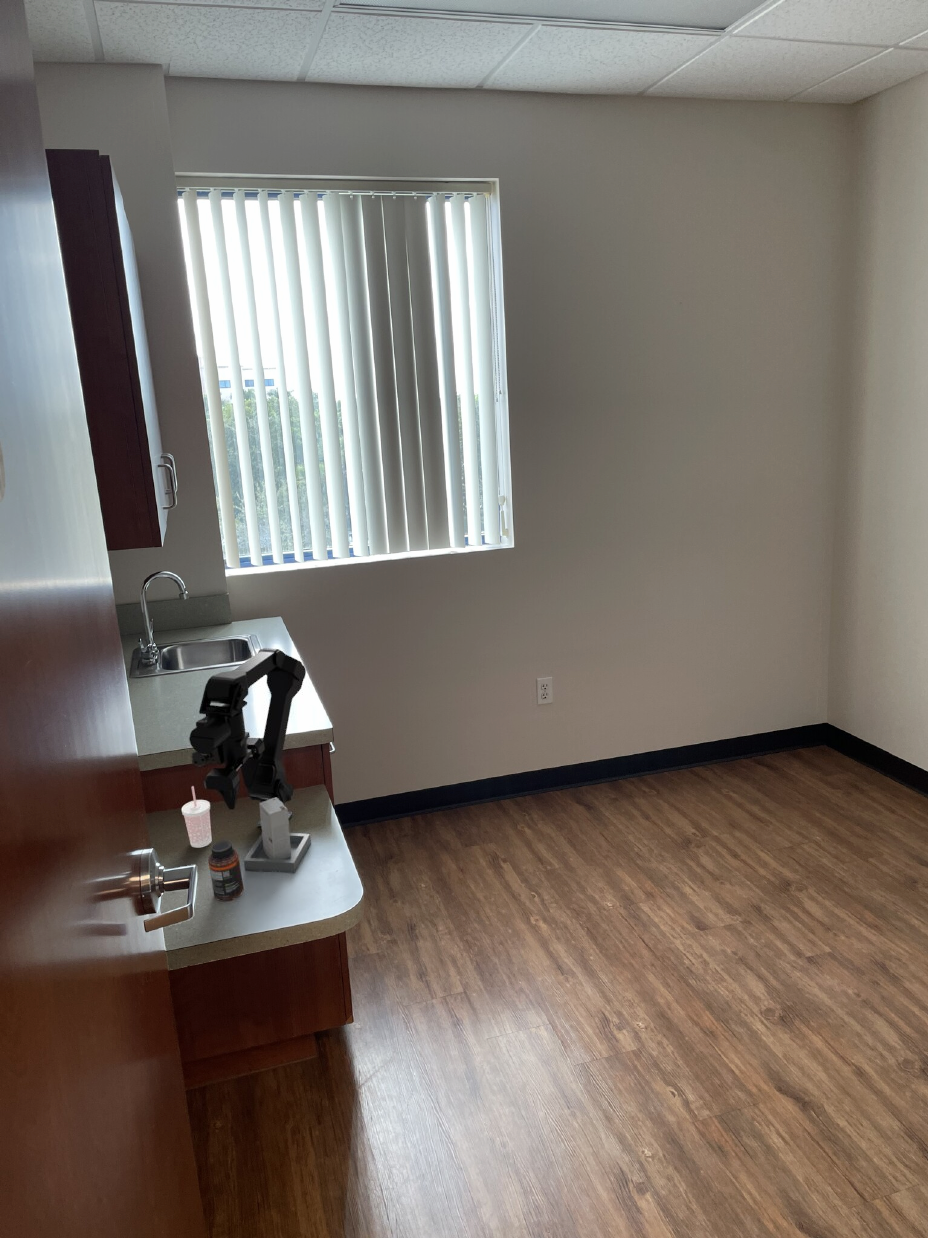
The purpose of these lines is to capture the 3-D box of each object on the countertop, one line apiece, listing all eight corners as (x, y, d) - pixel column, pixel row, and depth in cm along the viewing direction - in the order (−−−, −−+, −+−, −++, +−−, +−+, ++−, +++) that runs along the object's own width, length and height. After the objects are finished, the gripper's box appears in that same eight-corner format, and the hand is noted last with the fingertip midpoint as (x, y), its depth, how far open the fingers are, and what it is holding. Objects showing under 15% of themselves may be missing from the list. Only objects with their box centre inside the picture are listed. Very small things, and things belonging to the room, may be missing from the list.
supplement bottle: (232, 880, 177) (225, 833, 174) (249, 891, 174) (243, 843, 170) (207, 895, 173) (200, 847, 169) (225, 906, 169) (218, 857, 166)
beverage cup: (210, 831, 196) (202, 777, 191) (218, 843, 191) (210, 788, 186) (183, 840, 192) (174, 785, 188) (191, 852, 187) (182, 796, 183)
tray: (263, 841, 191) (262, 831, 190) (311, 843, 189) (310, 834, 188) (245, 870, 180) (243, 860, 180) (295, 873, 179) (293, 863, 178)
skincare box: (263, 851, 186) (256, 802, 182) (282, 844, 188) (276, 796, 184) (274, 864, 181) (267, 814, 177) (293, 857, 183) (287, 807, 180)
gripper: (213, 713, 189) (222, 775, 194) (174, 751, 171) (185, 819, 176) (261, 714, 187) (269, 777, 192) (227, 753, 170) (236, 822, 174)
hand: (240, 798), depth 184 cm, fingers open, 9 cm apart
